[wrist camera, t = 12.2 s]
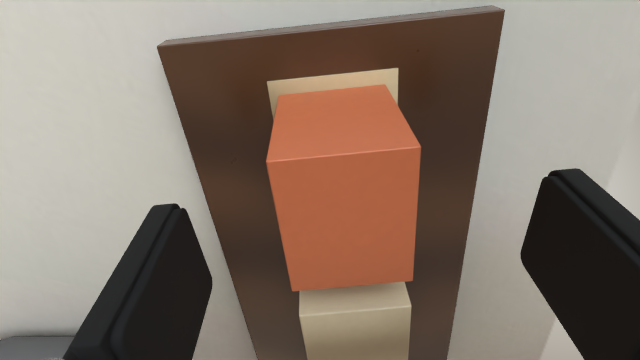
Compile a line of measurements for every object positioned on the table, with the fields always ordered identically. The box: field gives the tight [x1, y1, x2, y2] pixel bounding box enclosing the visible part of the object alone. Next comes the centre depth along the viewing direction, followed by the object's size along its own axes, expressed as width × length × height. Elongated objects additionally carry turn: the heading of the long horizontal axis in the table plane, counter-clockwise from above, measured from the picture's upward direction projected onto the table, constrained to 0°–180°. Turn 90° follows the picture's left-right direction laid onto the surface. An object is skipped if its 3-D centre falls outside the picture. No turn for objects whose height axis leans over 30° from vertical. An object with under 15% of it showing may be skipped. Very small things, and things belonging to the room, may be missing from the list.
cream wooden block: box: [299, 282, 412, 360], centre depth 16 cm, size 5×4×5 cm
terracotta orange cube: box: [266, 84, 421, 291], centre depth 13 cm, size 5×4×5 cm
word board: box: [157, 6, 505, 360], centre depth 19 cm, size 22×12×1 cm, turn 5°
